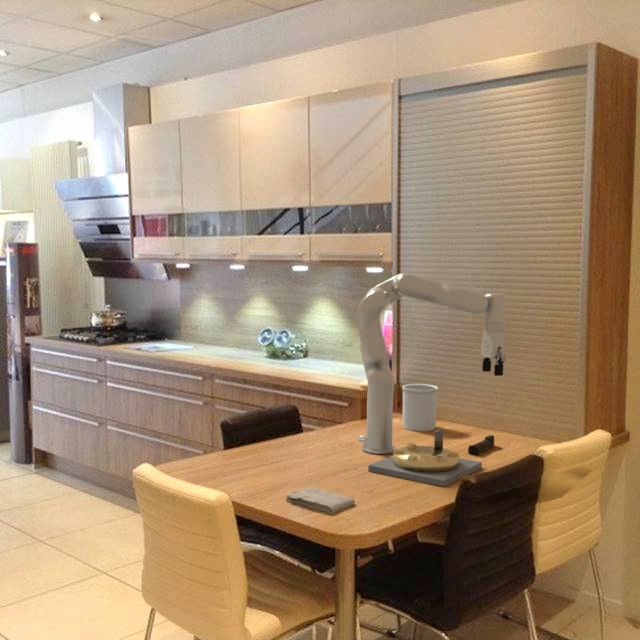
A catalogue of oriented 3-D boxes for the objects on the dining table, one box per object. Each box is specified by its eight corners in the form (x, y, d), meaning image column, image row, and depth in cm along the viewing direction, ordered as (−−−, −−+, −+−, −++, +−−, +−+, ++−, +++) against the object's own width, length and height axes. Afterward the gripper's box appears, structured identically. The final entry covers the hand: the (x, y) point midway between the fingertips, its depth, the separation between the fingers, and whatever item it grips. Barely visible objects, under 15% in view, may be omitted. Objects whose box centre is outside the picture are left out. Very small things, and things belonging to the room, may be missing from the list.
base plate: (368, 471, 258) (368, 464, 258) (410, 454, 280) (410, 448, 280) (443, 486, 241) (443, 479, 241) (481, 467, 264) (481, 461, 264)
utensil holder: (439, 432, 317) (440, 389, 316) (403, 431, 317) (404, 389, 315) (433, 424, 332) (434, 383, 330) (399, 423, 332) (400, 383, 330)
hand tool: (477, 456, 279) (477, 444, 279) (467, 455, 282) (467, 442, 281) (500, 447, 294) (500, 435, 294) (490, 445, 296) (491, 433, 296)
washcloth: (308, 493, 234) (308, 483, 234) (356, 506, 223) (357, 495, 223) (282, 503, 225) (283, 492, 225) (332, 516, 214) (332, 505, 214)
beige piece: (439, 475, 245) (440, 446, 244) (380, 463, 258) (381, 436, 257) (469, 461, 263) (470, 434, 262) (413, 451, 276) (414, 425, 275)
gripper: (474, 324, 289) (472, 370, 291) (495, 329, 272) (493, 377, 274) (493, 324, 291) (491, 369, 292) (514, 329, 274) (512, 377, 276)
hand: (492, 373), depth 283 cm, fingers open, 9 cm apart
